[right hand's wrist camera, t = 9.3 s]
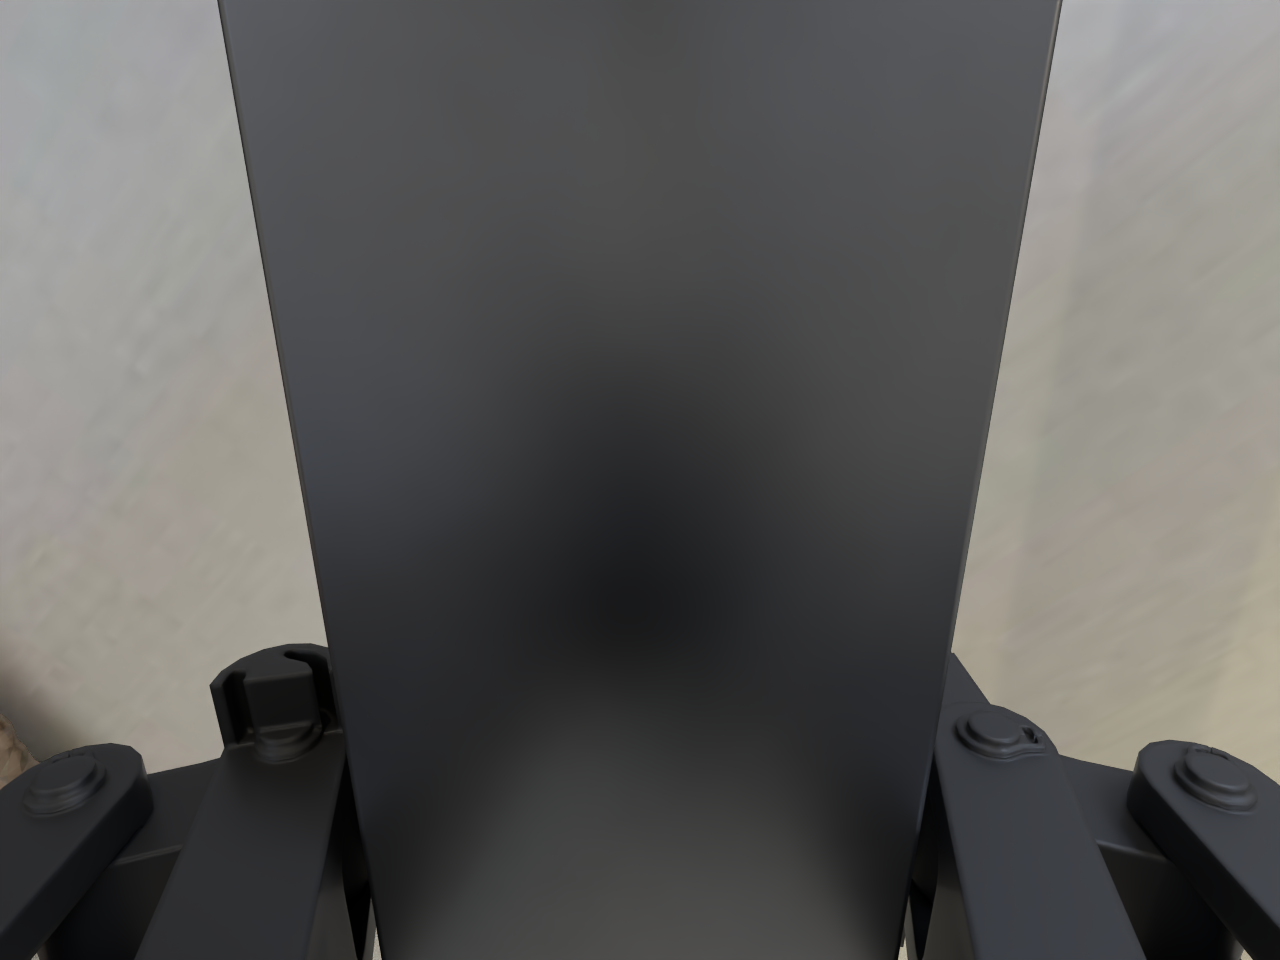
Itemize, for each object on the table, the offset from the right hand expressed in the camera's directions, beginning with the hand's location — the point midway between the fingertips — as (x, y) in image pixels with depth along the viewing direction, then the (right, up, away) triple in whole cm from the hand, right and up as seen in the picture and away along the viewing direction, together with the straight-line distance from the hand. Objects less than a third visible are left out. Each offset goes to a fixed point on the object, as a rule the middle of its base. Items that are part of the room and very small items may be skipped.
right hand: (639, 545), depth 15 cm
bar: (0, +9, -3) cm, 9 cm away
